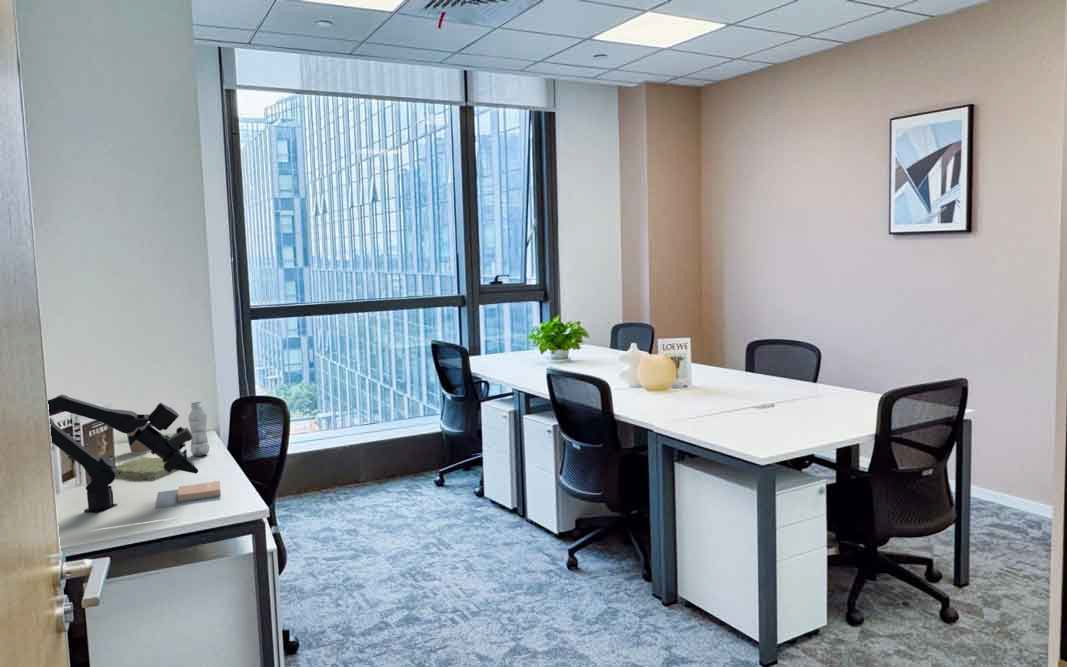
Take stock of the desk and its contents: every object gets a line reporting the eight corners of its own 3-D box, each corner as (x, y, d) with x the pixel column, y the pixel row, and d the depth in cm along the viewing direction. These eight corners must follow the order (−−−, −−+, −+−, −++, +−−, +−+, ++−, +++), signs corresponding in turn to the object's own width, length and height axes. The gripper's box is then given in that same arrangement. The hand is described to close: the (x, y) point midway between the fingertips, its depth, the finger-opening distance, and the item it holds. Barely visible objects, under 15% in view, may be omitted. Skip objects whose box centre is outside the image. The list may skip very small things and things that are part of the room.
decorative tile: (141, 465, 285) (141, 455, 284) (190, 466, 280) (189, 456, 280) (104, 480, 267) (103, 469, 266) (155, 481, 262) (154, 471, 262)
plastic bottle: (203, 452, 298) (199, 400, 296) (213, 454, 294) (209, 402, 292) (187, 456, 293) (183, 403, 291) (197, 458, 289) (193, 405, 287)
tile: (177, 495, 237) (220, 489, 241) (178, 486, 246) (219, 481, 250) (178, 501, 237) (220, 495, 241) (179, 492, 246) (220, 487, 251)
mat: (154, 510, 231) (154, 508, 231) (158, 493, 247) (158, 492, 247) (220, 500, 238) (220, 499, 238) (219, 485, 254) (219, 483, 254)
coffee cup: (137, 448, 308) (135, 418, 307) (161, 448, 307) (159, 418, 306) (120, 455, 298) (117, 424, 297) (145, 455, 297) (142, 424, 296)
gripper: (173, 427, 231) (216, 458, 236) (175, 415, 248) (215, 445, 253) (145, 456, 228) (189, 488, 234) (150, 442, 246) (190, 472, 251)
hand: (197, 472), depth 243 cm, fingers closed
